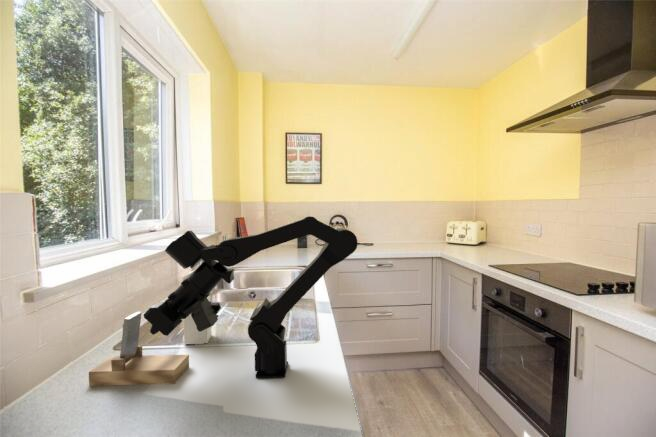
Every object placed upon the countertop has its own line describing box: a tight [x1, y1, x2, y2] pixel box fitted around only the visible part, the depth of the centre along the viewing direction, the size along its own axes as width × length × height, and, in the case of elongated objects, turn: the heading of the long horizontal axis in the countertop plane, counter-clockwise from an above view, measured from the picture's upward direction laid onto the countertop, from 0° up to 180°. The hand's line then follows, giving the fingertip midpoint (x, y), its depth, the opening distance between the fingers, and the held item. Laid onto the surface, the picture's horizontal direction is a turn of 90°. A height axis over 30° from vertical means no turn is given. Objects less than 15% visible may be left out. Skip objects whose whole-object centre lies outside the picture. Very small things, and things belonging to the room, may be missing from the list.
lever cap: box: [119, 311, 142, 364], centre depth 69 cm, size 2×5×10 cm, turn 1°
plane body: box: [88, 345, 190, 387], centre depth 69 cm, size 18×7×5 cm, turn 91°
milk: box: [182, 262, 212, 346], centre depth 88 cm, size 6×6×22 cm
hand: (152, 332), depth 69 cm, fingers closed
